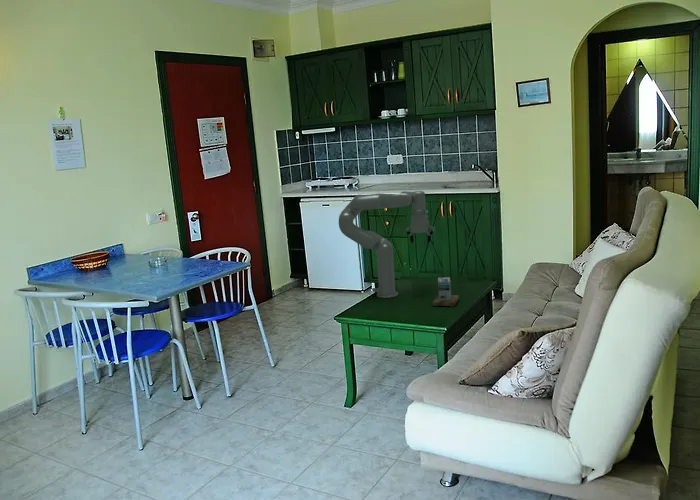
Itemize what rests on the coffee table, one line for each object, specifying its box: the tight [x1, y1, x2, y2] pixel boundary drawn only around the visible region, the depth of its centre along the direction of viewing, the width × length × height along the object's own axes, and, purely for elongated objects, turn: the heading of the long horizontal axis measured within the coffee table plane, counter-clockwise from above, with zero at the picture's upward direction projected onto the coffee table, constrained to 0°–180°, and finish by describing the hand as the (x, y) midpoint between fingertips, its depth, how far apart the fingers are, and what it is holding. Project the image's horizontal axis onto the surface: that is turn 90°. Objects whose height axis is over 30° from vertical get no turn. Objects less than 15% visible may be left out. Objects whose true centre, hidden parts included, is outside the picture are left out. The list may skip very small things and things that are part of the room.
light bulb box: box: [437, 276, 452, 301], centre depth 332 cm, size 11×7×11 cm, turn 172°
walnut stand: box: [431, 294, 460, 308], centre depth 333 cm, size 12×15×2 cm
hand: (420, 242), depth 350 cm, fingers open, 9 cm apart
